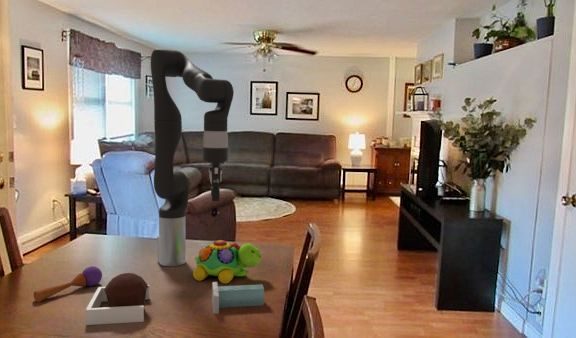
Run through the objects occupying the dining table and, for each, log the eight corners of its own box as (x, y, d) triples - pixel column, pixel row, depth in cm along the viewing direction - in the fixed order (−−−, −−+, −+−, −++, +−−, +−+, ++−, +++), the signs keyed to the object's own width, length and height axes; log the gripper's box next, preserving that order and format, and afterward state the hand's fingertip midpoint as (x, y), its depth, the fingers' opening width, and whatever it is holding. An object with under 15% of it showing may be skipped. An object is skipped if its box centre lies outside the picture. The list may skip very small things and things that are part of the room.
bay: (149, 297, 138) (149, 284, 137) (143, 321, 122) (143, 306, 122) (98, 300, 135) (98, 287, 135) (86, 325, 119) (85, 309, 119)
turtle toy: (253, 288, 148) (254, 251, 146) (184, 281, 153) (184, 245, 151) (267, 270, 164) (267, 237, 163) (204, 264, 169) (204, 233, 168)
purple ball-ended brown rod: (29, 286, 135) (93, 263, 151) (33, 306, 135) (96, 281, 151) (39, 287, 131) (103, 264, 147) (44, 308, 131) (107, 282, 148)
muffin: (113, 302, 134) (112, 268, 133) (152, 302, 135) (152, 268, 133) (98, 320, 122) (97, 283, 121) (141, 320, 123) (140, 283, 122)
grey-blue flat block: (260, 295, 141) (260, 279, 141) (265, 311, 131) (266, 293, 130) (212, 298, 139) (212, 282, 138) (213, 314, 128) (213, 296, 127)
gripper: (229, 147, 137) (228, 202, 139) (226, 144, 151) (226, 194, 152) (203, 147, 135) (203, 203, 137) (202, 144, 149) (202, 194, 151)
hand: (215, 198), depth 145 cm, fingers open, 8 cm apart
